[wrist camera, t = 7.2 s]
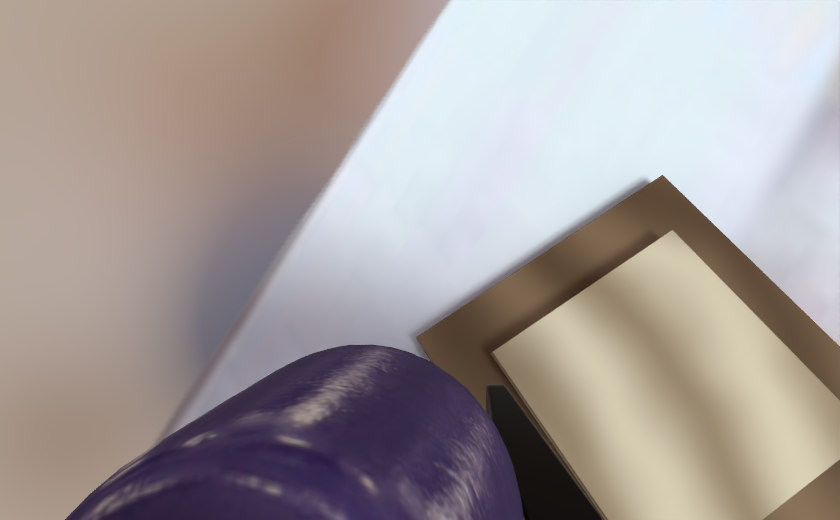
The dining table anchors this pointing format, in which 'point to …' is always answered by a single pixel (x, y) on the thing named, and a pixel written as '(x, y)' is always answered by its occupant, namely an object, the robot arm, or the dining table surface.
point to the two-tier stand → (661, 369)
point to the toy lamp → (326, 450)
